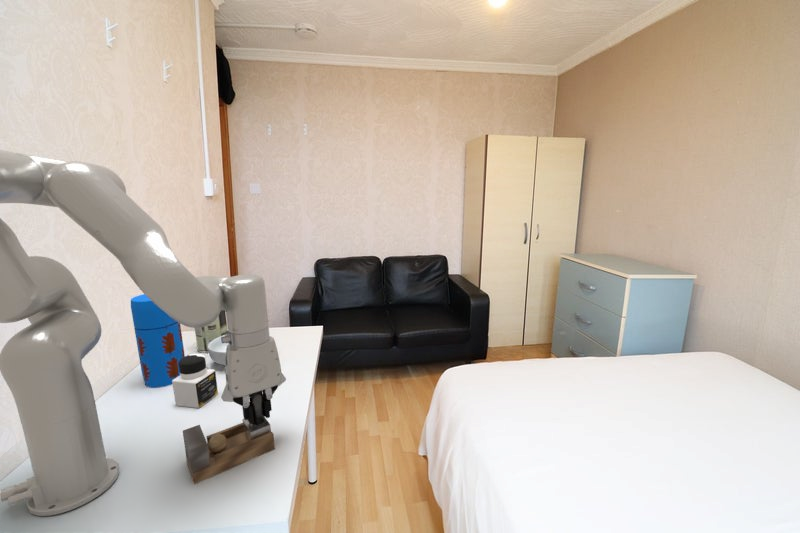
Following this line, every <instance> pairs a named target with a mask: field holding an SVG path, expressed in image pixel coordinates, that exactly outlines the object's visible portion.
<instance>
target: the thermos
mask: <svg viewBox="0 0 800 533" xmlns="http://www.w3.org/2000/svg"><path fill="white" fill-rule="evenodd" d="M130 309H131V316H132V321H133V322H132V323H133V328H134V333H135V340H136V345H137V352H138V357H139V364H140V369H141V375H142V378H143V384H144V385H145V386H146V387H148V388H151V389H152V388H154V389H155V388H163V387H168V386H170V385H173V384H172V380H173V379H175V378H177V377H178V376H180V371H179V364H178V362H179V360H180V359H182V358H183V357H185V350H184V341H183V335H182V327H181V324H180V323H178V322H177V321H175V320H174V319H173V318H171V317H170V316H169V315H168V314H166V313H165V312H164V311H163V310H162V309H160V308H159V307H158V306H157V305H156V304H155V303H153V302H152V301H151V300H150V299H149V298H148V297H147V296H146V295H145V294H144V293H143V294H139V295H136V296H133V297H132V298H130Z"/></svg>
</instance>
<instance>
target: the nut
mask: <svg viewBox="0 0 800 533" xmlns="http://www.w3.org/2000/svg"><path fill="white" fill-rule="evenodd" d="M226 444H227V439H226V437H225V436H224V435H222V434H216V435H214V436H212V437H211V438H210V440H209V442H208V449H209V450H210V451H211V452H213V453H218V452H221V451H222V450H223V449H224V448H225V447H226Z"/></svg>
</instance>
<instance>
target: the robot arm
mask: <svg viewBox="0 0 800 533" xmlns="http://www.w3.org/2000/svg"><path fill="white" fill-rule="evenodd" d="M0 204H26V205H27V204H28V205H34V206H35V205H37V206H45V207H53V208H59V210H60V211H61V212H63V213H64V214H65V215H67V217H69V219H71V220H72V221H73V222H74V223H76V224H77V225H78V226H80V227H81V228H82V229H83V230H84V231H85V232H86V233H88V234H89V235H90V236H91V237H92V238H93V239H95V240H96V242H98V243H100V245H102V247H103V248H105V249H106V250H107V251H108V252H110V254H111V255H113V256H114V257H115V258H116V259H117V260H118V261H119V262H120V264H121V266H122V268H123V269H124V271H125V272H126V273H127V274H128V276H129V277H130V278H131V279H132V281H133V282H134V284H135V285H136V286H137V287H138V288H139V290H140V291H141V292H142V293H143V294H145V295H146V296H147V297H148V298H149V299H150V300H151V301H152V302H153V303H155V304H156V305H157V306H158V307H159V308H160V309H162V310H163V311H164V312H165V313H166V314H168V315H169V316H170V317H171V318H173V319H174V320H175V321H177V322H178V323H180V325H182V326H184V327H188V328H192V329H195V328H201V327H205V326H207V325H209V324H211V323H212V322H214V321H215V320H216V319H217V317H218V316H219V314H220V312H221V310H225V314H226V322H227V331H228V333H227V335H225V336H223V337H221V342H222V344H223V343H229V344H228V345H227V349H226V365H224V366H225V382H226V383H225V386H224V389H223V392H222V393H221V397H220V398H221V400H222V402H228V403H236V404H237V405H239V406H241V407H242V408H241V409H242V415H243V419H245V420H248V422H249V423H250V425H251V424H253V423H254V417H253V408H252V405H251V404H250V400H249V395H250V394H253V393H256V392H259V391H262V394H263V404H264V414H265V418H266V419H270V418H271V413H270V412H271V411H272V410H273V409H272V399H273V395H274V394H275V392H276V390H278V388H279V387H280V386H281V385H283V384H284V383H285V382H286V381H287V378H286V376H285V375H284V374H283V372H282V367H281V362H280V356H279V355H280V354H279V352H278V347H277V345H276V344H277V343H276V341H275V339H274V338H275V337H273V336H270V328H269V317H268V316H269V315H268V306H267V305H268V304H267V293H266V285H265V280H264V278H263V277H262V276H261V275H257V274H252V273H251V274H246V273H245V274H239V275H238V274H237V275H234V276H212V275H211V276H209V275H205V276H202V275H201V276H198V277H196V276H195V275H193V273H192V272H191V271H189V270H188V268H186V267H185V265H184V264H183V263H182V262H181V261H180V260H179V259H178V257H177V256H176V255H175V253H174V252H173V250H172V248H171V246H170V244H169V241H168V238H167V235H166V233H165V231H164V230H163V227H161V226H160V224H159V223H158V222H157V221H156V220H155V219H153V218H152V217H151V216H150V215H149V214H148V213H147V212H146V211H145V210H143V208H141V206H140V205H138V203H136V202H135V201H134V200H133V199H132V198H131V197H130V196H129V195H128V194H127V188H126V186H125V183H124V180H122V178H121V177H120V176H119V174H117V173H115V172H114V171H113V170H111V169H110V168H108V167H105V166H102V165H99V164H94V163H89V162H84V161H76V160H75V161H65V160H59V159H55V158H53V159H52V158H47V157H42V156H36V155H29V154H24V153H20V152H13V151H8V150H3V149H0ZM26 319H27V320H28V321H29V323H30V324H29V325H28V326H27V327H24V328H23V329H21V330H20V331H18V332H17V333H15V334H13V336H12V337H11V338H9V339H8V340H7V342H5V344H4V345H3V347H2V349H1V350H0V373H1V376H2V377H3V380H4V382H5V384H7V387H8V388H9V390H10V392H11V395H12V397H13V399H14V402H15V403H14V404H15V405H16V409H17V412H18V417H19V420H20V425H21V428H22V432H23V436H24V440H25V443H26V448H27V453H28V456H29V461H30V464H31V468H32V473H33V476H32V477H29V478H26V481H24V482H21V483H18V484H14V485H12V486H8V487H6V488H5V487H4V488H2V489H1V490H0V501H1V502H5V501H7V505H8V506H13V505H15V504H17V503H20V502H22V501H25V500H27V501H26V505H27V508H28V511H29V513H31V514H32V515H35V516H42V517H46V516H54V515H59V514H64V513H65V512H69V511H72V510H74V509H77V508H80V507H81V506H84V505H86V504H87V503H89V502H91V501H92V500H94V499H96V498H97V497H99V496H100V495H102V494H103V493H104V492H105V491H107V490H108V489H109V488H110V487H111V486H112V485H113V484H114V483H115V481H116V480H117V478H118V477H119V474H120V467H119V466H120V465H119V463H118V461H116V459H115V460H114V459H113V458H107V455H106V451H105V446H104V440H103V434H102V430H101V425H100V421H99V415H98V410H97V409H98V408H97V405H96V400H95V396H94V391H93V386H92V384H91V381H90V379H89V377H88V376H87V373H86V372H85V369H84V368H83V364H82V361H83V359H84V358H85V357H86V355H88V354H89V353H90V352H91V351H92V350H93V349H94V348H95V347H96V345H98V343H99V341H100V339H101V337H102V325H101V322H100V319H99V317H98V316H97V314H96V312H95V310H94V308H93V306H92V305H91V303H90V301H89V300H88V298H87V296H86V294H85V293H84V291H83V289H82V288H81V286H80V284H79V281H77V279H76V277H75V276H74V274H73V273H72V271H71V270H69V268H67V267H66V266H65V265H64V264H63V263H61V262H59V261H58V260H55V259H53V258H50V257H46V256H37V255H34V256H33V255H31V256H29V255H28V254H27V251H25V249H24V247H23V246H22V244H21V242H20V240H19V238H18V236H17V235H16V233H15V232H14V231H13V230H12V228H11V227H10V226H9V225H8V224H7V223H6V222H5V221H4V220H3V219H2V217H0V324H9V323H17V322H20V321H23V320H26Z"/></svg>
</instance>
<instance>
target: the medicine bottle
mask: <svg viewBox="0 0 800 533" xmlns="http://www.w3.org/2000/svg"><path fill="white" fill-rule="evenodd" d="M178 364H179V371H180V376H178V377H177V378H175V379H173V380H172V384H171V385H172V389H173V396H174V402H175V406H178V407H187V408H194V409H200V408H202V407H203V406H204V405H205V404H207V403H208V402H209V401H210V400H212V399H213V398H214V397H216V396H217V395H218V394H219V391H218V383H217V375H216V370H215V369H210V368H207V360H206V356H205V355H204V354H203V353H202V354H201V353H191V354H188V355H186V356H185V357H183V358H182V359H180V360H179V362H178Z"/></svg>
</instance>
